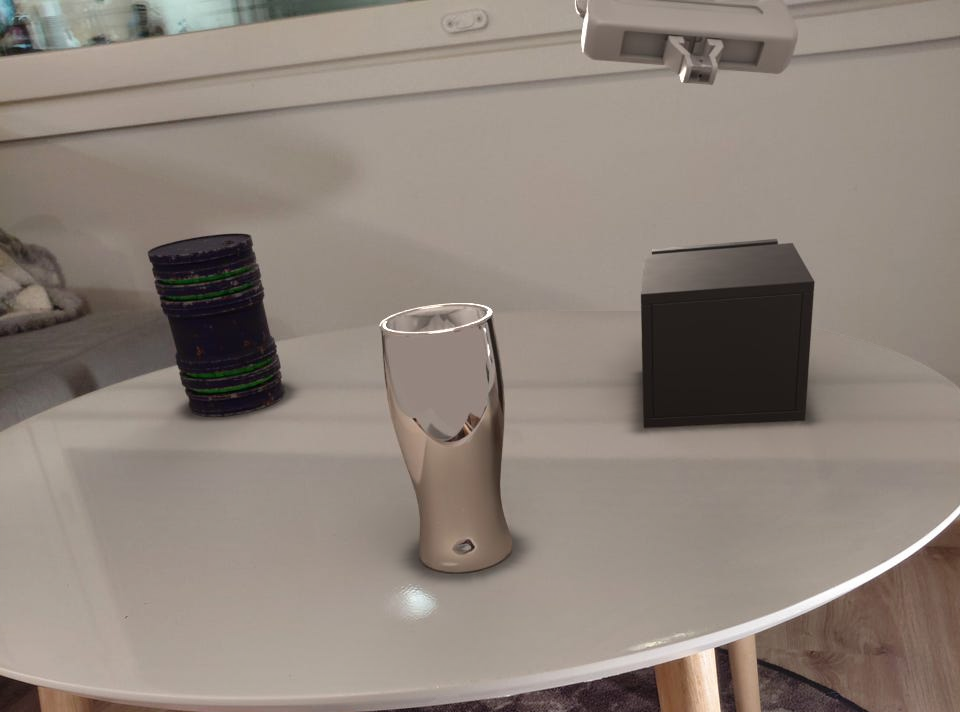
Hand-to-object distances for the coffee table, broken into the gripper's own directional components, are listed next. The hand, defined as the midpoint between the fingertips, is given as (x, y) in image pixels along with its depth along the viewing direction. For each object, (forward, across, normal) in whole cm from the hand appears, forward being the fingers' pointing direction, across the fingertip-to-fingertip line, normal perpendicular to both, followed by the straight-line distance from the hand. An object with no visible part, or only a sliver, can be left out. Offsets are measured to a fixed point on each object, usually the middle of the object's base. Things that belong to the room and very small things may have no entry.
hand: (700, 76), depth 88 cm
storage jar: (+16, -43, +27) cm, 53 cm away
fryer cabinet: (+28, +1, +12) cm, 30 cm away
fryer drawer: (+19, +3, +16) cm, 24 cm away
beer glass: (+51, -23, +6) cm, 56 cm away
